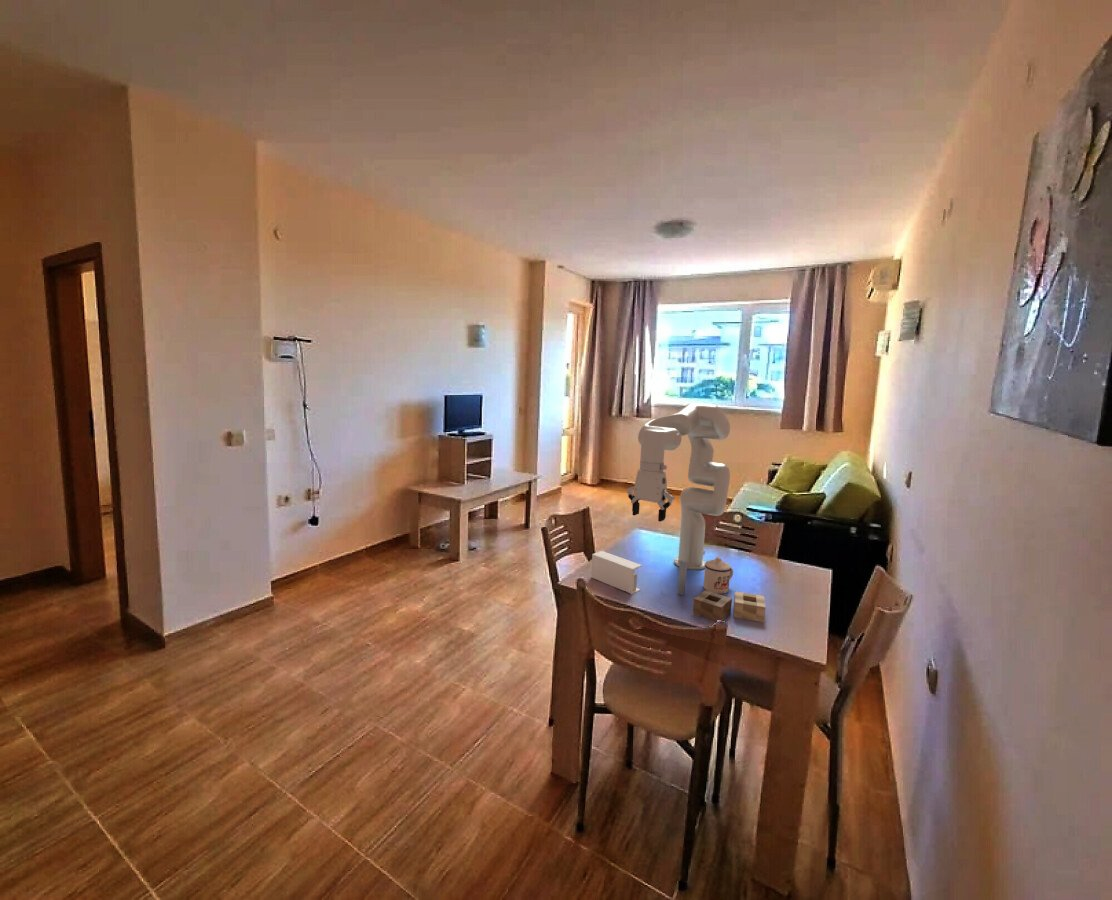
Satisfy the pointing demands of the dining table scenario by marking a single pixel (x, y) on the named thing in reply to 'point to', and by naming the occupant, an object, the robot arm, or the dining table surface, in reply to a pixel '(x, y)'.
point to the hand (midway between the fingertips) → (648, 517)
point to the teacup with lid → (717, 576)
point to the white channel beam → (615, 571)
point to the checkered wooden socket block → (749, 606)
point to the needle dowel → (682, 577)
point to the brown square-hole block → (712, 605)
